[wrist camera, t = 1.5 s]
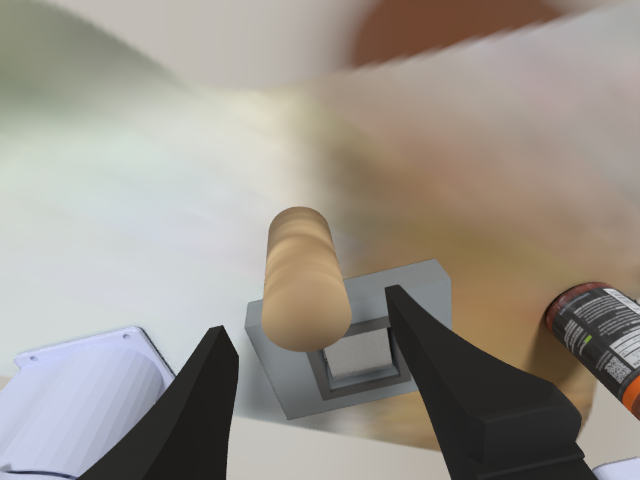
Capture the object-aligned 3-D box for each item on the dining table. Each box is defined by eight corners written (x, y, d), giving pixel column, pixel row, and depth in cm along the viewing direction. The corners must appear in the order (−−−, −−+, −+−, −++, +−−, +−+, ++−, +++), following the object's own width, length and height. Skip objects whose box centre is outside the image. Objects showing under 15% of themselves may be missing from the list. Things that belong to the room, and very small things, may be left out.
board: (287, 393, 29) (287, 423, 27) (248, 302, 23) (243, 331, 21) (439, 358, 29) (453, 385, 26) (435, 258, 23) (453, 281, 21)
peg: (278, 265, 22) (276, 360, 15) (260, 215, 20) (248, 296, 13) (334, 252, 22) (358, 341, 15) (322, 200, 20) (343, 274, 13)
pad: (332, 374, 26) (333, 380, 25) (320, 333, 24) (320, 339, 23) (390, 361, 26) (392, 367, 25) (383, 318, 24) (386, 324, 23)
